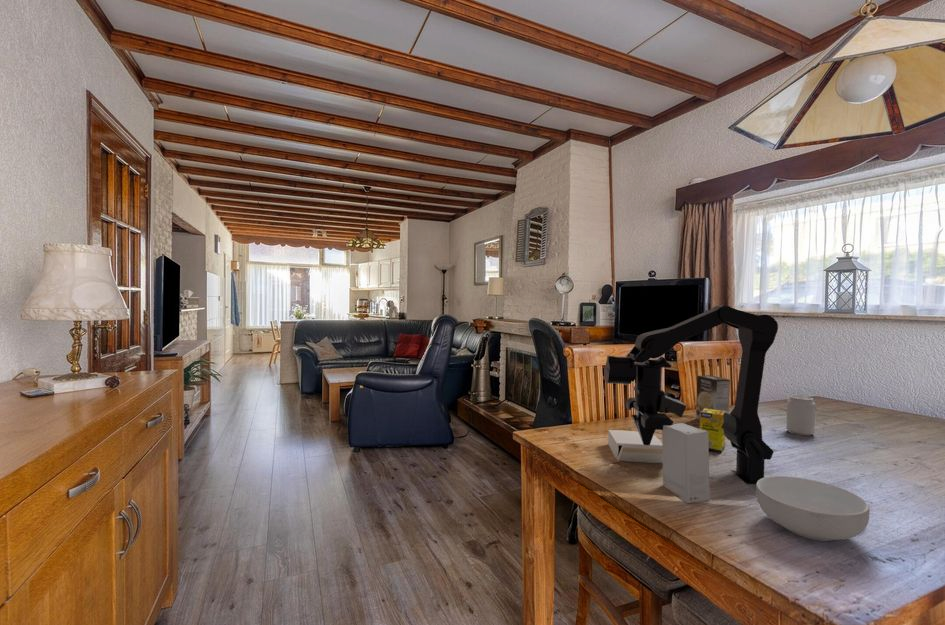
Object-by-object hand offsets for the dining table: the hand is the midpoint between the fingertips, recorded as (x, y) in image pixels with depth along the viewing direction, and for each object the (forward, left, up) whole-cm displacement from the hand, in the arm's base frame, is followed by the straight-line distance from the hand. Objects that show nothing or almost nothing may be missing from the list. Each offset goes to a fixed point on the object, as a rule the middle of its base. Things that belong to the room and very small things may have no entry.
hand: (646, 446), depth 108 cm
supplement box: (+22, -24, -7) cm, 33 cm away
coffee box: (+53, -36, -7) cm, 64 cm away
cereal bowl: (-24, -23, -7) cm, 34 cm away
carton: (+12, 0, -6) cm, 13 cm away
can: (+44, -60, -7) cm, 75 cm away
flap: (+5, 0, -6) cm, 8 cm away
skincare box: (-12, -5, -7) cm, 15 cm away
